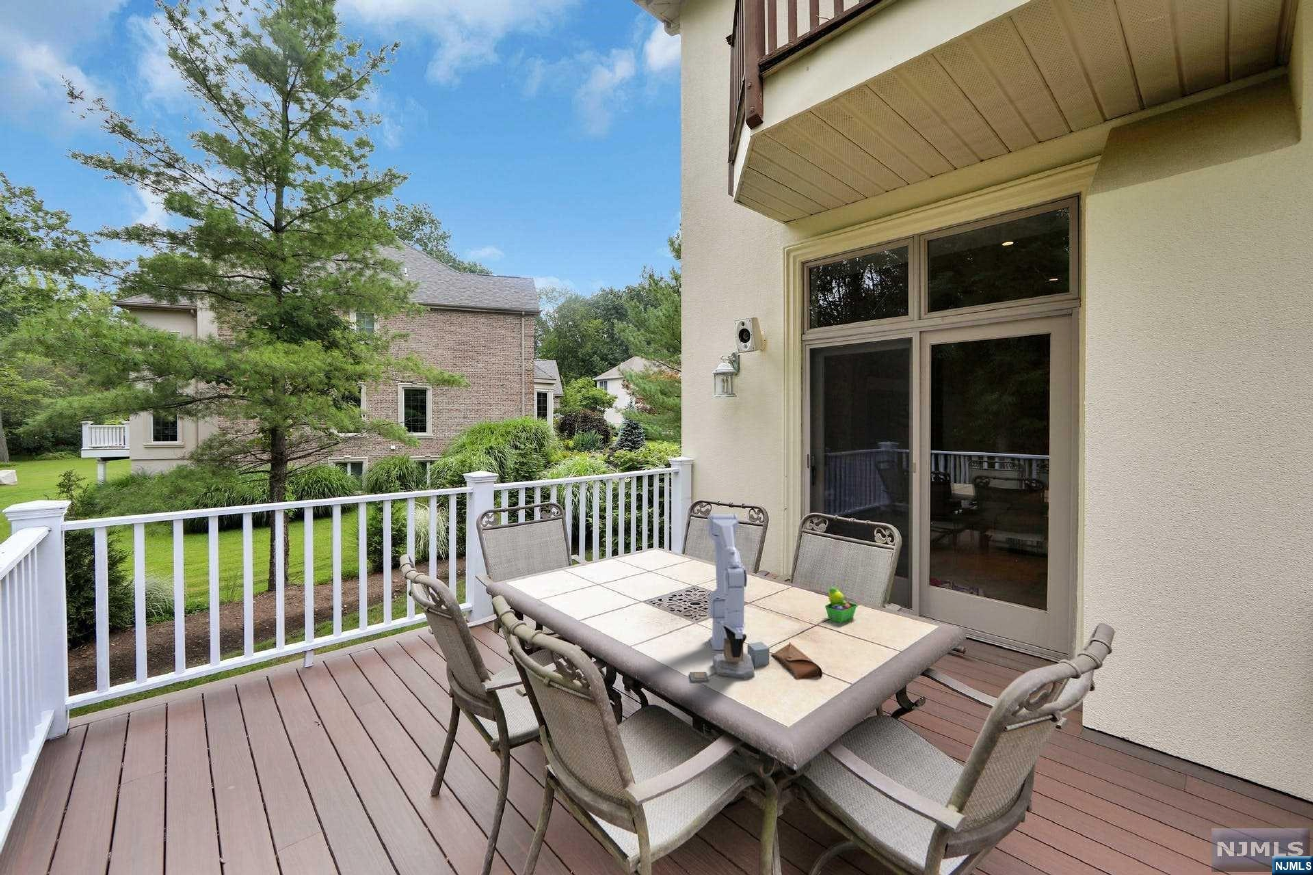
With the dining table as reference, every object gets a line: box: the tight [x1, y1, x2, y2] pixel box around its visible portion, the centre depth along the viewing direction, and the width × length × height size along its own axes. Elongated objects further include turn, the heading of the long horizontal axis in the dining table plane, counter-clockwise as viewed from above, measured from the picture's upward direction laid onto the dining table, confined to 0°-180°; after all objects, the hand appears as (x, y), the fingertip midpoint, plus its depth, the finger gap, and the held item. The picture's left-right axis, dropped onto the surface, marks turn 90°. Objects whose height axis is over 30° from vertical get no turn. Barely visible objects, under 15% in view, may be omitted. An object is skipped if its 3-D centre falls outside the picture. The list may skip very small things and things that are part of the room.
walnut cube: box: [723, 638, 744, 662], centre depth 156 cm, size 5×5×5 cm
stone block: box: [712, 652, 756, 679], centre depth 158 cm, size 12×5×10 cm
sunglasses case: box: [770, 642, 823, 681], centre depth 162 cm, size 18×7×7 cm
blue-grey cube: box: [746, 641, 770, 667], centre depth 164 cm, size 5×5×5 cm
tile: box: [689, 671, 710, 683], centre depth 153 cm, size 5×5×1 cm
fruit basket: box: [824, 586, 858, 624], centre depth 200 cm, size 11×9×11 cm
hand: (734, 652), depth 156 cm, fingers closed on walnut cube, 5 cm apart
